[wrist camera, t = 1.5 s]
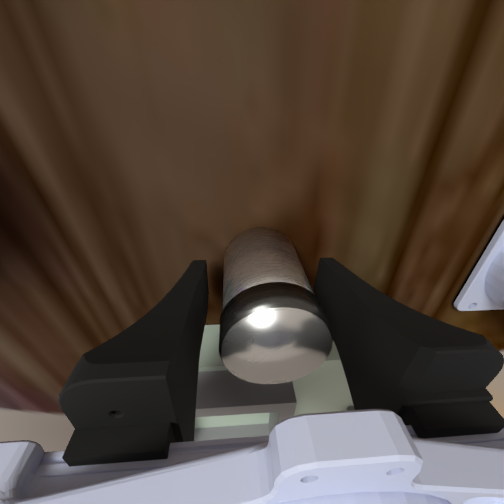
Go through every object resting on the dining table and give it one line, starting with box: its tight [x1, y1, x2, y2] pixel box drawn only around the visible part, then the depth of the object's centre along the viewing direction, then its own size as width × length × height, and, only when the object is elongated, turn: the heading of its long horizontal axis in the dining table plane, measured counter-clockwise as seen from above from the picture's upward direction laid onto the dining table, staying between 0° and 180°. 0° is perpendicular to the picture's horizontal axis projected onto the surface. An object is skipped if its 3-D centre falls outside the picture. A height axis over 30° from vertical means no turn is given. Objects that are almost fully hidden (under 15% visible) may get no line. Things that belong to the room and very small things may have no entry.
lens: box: [219, 227, 333, 384], centre depth 12 cm, size 4×4×6 cm
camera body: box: [194, 325, 355, 441], centre depth 17 cm, size 18×8×5 cm, turn 88°
